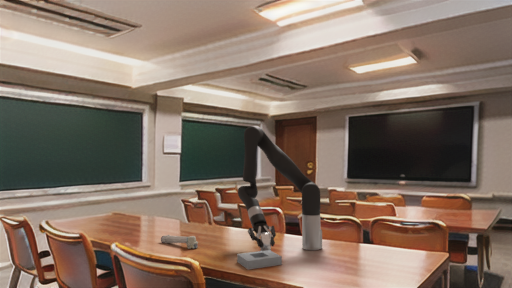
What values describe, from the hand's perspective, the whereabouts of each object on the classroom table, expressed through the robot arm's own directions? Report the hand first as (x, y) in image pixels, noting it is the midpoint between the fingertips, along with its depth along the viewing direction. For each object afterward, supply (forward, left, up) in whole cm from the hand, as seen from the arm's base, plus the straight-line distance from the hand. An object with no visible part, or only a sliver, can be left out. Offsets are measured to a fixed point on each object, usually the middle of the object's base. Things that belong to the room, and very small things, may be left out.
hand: (267, 246), depth 168 cm
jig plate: (+9, +10, -4) cm, 14 cm away
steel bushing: (0, -2, -4) cm, 5 cm away
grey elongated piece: (+34, -37, -5) cm, 51 cm away
